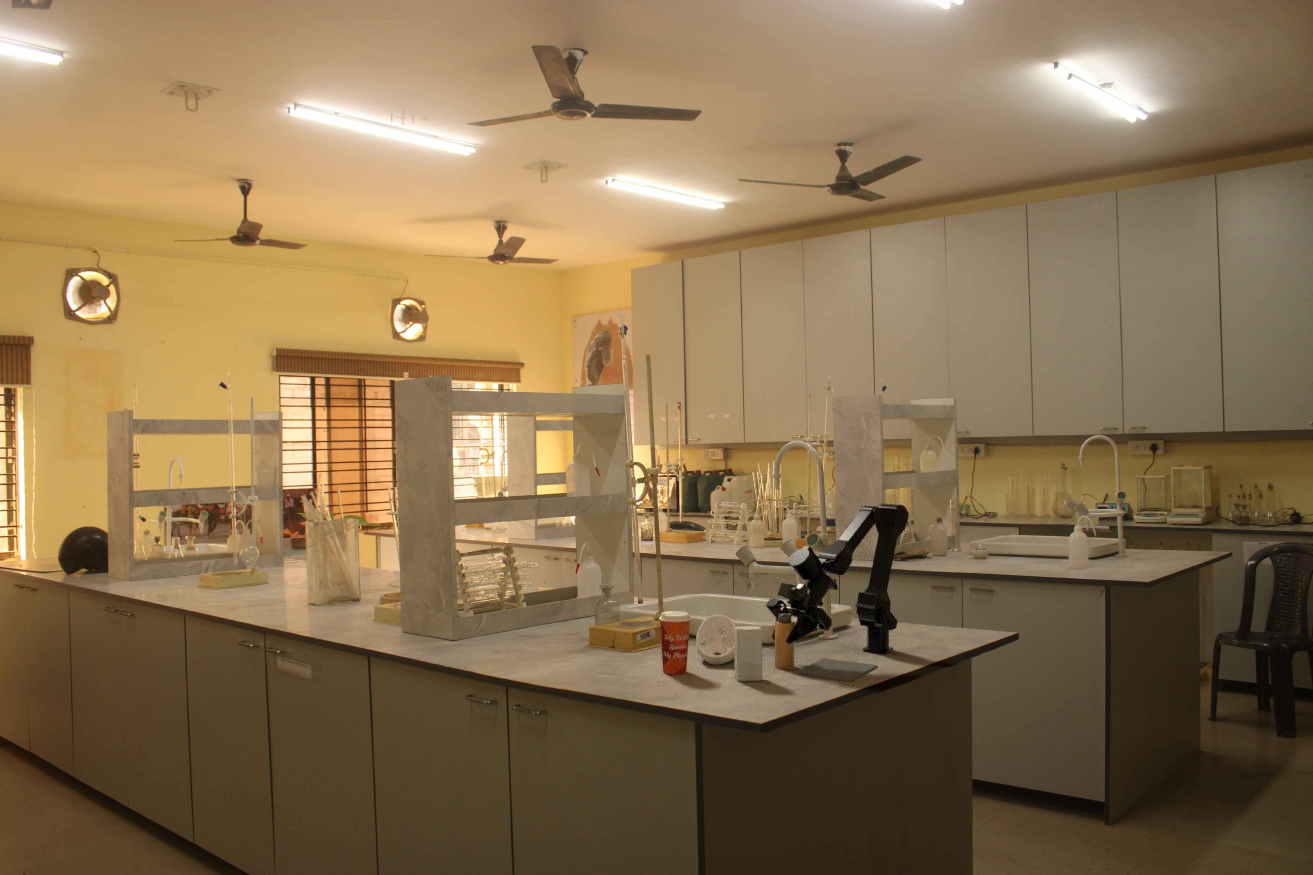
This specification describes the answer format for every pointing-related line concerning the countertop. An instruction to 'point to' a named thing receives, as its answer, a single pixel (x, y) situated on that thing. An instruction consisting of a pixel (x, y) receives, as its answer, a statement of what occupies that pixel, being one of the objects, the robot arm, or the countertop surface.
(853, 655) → the countertop surface
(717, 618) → the skull bowl
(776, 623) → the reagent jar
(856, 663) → the rubber mat
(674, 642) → the paper cup
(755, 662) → the skincare box
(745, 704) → the countertop surface
